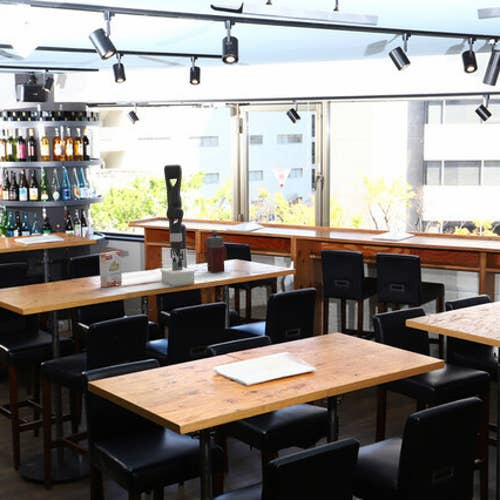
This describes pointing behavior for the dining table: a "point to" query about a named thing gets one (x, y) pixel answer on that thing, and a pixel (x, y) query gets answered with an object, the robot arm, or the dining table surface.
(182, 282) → the box
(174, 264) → the lid
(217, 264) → the dark red pepper mill
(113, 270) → the cracker box
